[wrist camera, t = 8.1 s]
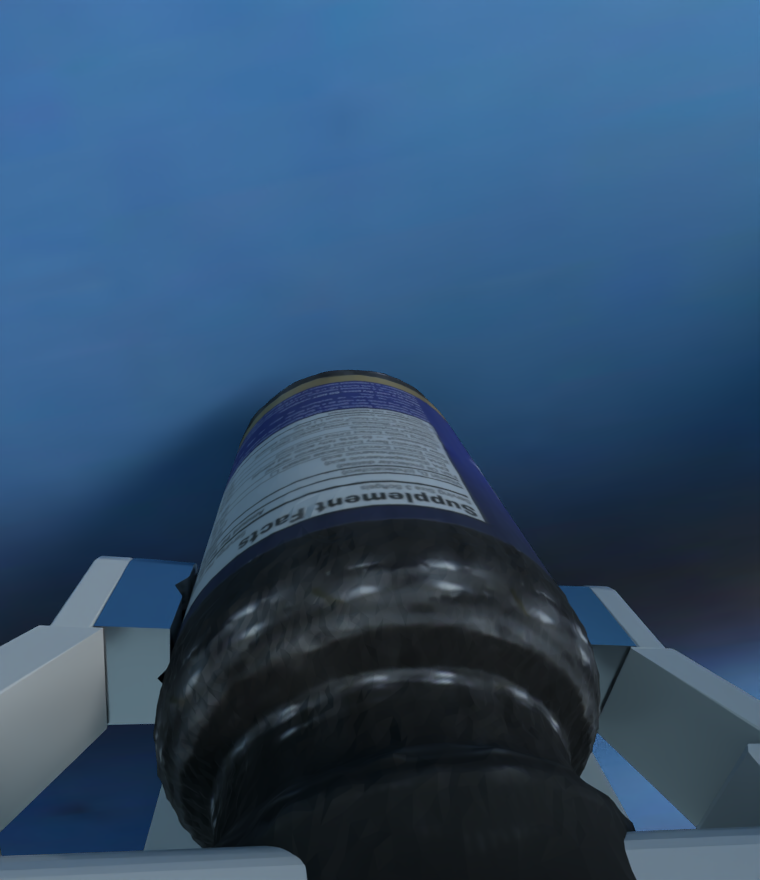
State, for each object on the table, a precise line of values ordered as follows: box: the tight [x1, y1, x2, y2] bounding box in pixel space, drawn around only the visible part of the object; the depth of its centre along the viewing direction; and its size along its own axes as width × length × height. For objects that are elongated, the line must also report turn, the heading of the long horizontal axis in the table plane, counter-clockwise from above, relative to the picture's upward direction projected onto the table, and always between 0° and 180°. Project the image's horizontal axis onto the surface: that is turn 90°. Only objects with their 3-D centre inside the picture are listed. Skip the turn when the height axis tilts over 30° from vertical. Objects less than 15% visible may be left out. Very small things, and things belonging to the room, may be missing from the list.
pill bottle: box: [154, 370, 637, 880], centre depth 9 cm, size 6×6×11 cm
